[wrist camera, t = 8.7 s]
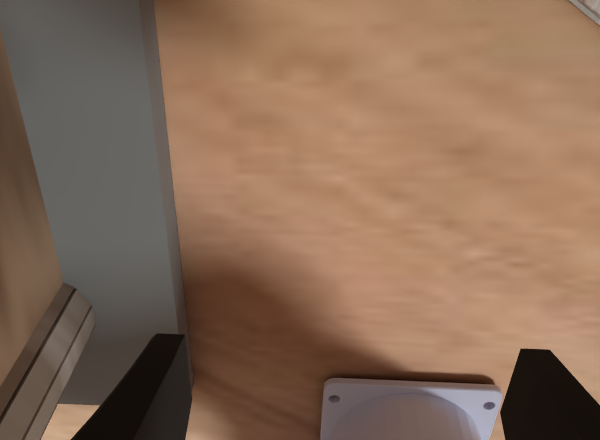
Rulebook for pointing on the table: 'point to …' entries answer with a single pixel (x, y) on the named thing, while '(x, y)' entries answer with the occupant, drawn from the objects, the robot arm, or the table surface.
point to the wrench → (589, 8)
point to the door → (31, 287)
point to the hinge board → (102, 171)
